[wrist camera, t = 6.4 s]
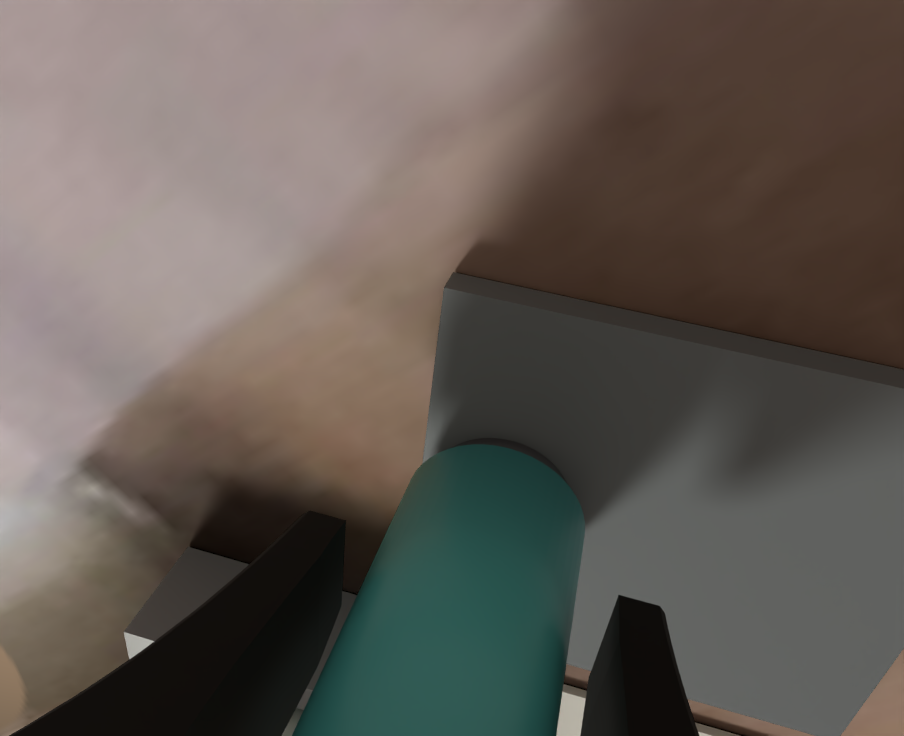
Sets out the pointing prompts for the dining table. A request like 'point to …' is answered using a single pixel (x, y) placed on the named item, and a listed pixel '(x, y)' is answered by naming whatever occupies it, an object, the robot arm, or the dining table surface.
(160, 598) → the button box
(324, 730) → the marker
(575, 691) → the card
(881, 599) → the board
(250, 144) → the dining table surface
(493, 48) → the dining table surface
